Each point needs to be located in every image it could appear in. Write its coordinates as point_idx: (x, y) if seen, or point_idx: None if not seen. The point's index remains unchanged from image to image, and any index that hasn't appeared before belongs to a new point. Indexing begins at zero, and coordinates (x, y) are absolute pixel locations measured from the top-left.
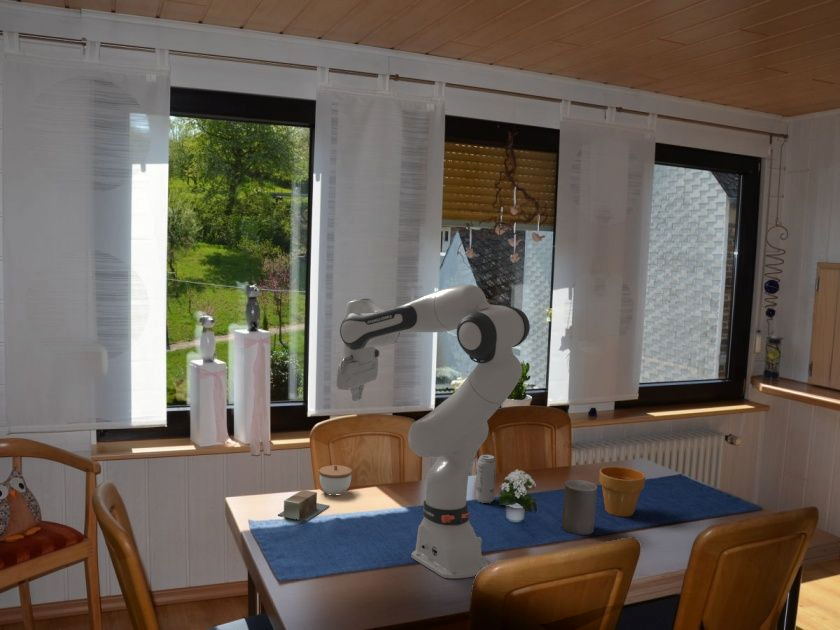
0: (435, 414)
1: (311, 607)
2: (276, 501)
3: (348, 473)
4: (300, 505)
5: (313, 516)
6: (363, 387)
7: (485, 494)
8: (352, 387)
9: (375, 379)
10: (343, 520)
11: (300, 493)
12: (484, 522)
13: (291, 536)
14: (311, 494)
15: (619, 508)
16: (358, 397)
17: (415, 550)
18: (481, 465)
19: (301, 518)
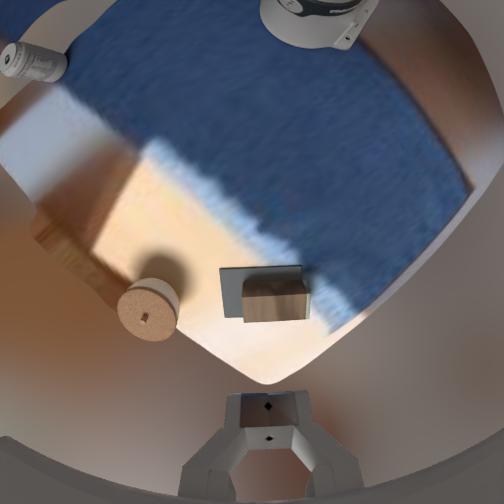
0: None
1: (493, 135)
2: (247, 344)
3: (142, 289)
4: (302, 291)
5: (278, 267)
6: (195, 468)
7: (59, 56)
8: (492, 442)
9: (5, 437)
10: (263, 215)
11: (263, 316)
12: (141, 14)
13: (363, 253)
14: (257, 299)
15: None
16: (291, 407)
17: (336, 44)
18: (26, 56)
19: (297, 277)
